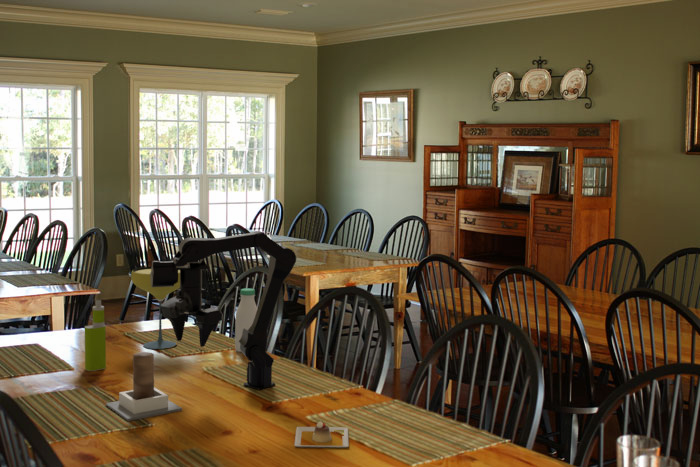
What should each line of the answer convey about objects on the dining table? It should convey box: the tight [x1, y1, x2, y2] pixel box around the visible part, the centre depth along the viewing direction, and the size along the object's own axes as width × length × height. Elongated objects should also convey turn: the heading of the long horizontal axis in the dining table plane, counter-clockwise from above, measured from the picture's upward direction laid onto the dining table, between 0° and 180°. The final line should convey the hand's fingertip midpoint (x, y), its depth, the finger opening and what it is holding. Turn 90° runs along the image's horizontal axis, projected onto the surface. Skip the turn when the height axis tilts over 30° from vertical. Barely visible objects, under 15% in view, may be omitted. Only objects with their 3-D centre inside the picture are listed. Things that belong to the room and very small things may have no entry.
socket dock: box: [105, 387, 183, 422], centre depth 200 cm, size 14×14×4 cm
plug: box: [132, 351, 155, 400], centre depth 199 cm, size 5×5×13 cm
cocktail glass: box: [130, 266, 180, 351], centre depth 261 cm, size 18×18×25 cm
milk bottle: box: [234, 288, 258, 353], centre depth 258 cm, size 8×8×20 cm
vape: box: [84, 299, 107, 372], centre depth 233 cm, size 4×6×20 cm, turn 134°
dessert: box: [293, 420, 350, 449], centre depth 181 cm, size 12×12×5 cm
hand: (190, 343), depth 213 cm, fingers open, 9 cm apart
